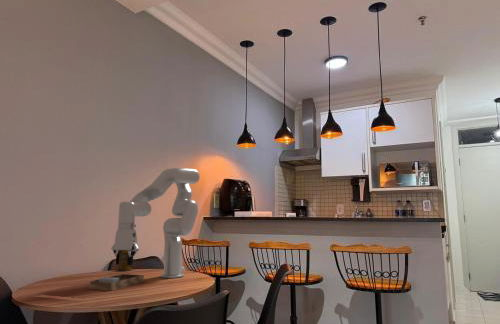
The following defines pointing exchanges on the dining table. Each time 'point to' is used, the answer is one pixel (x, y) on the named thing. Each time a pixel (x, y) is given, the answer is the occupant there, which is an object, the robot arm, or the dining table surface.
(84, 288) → the dining table surface
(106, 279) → the painted block
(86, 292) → the dining table surface
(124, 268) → the condiment
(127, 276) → the caddy
